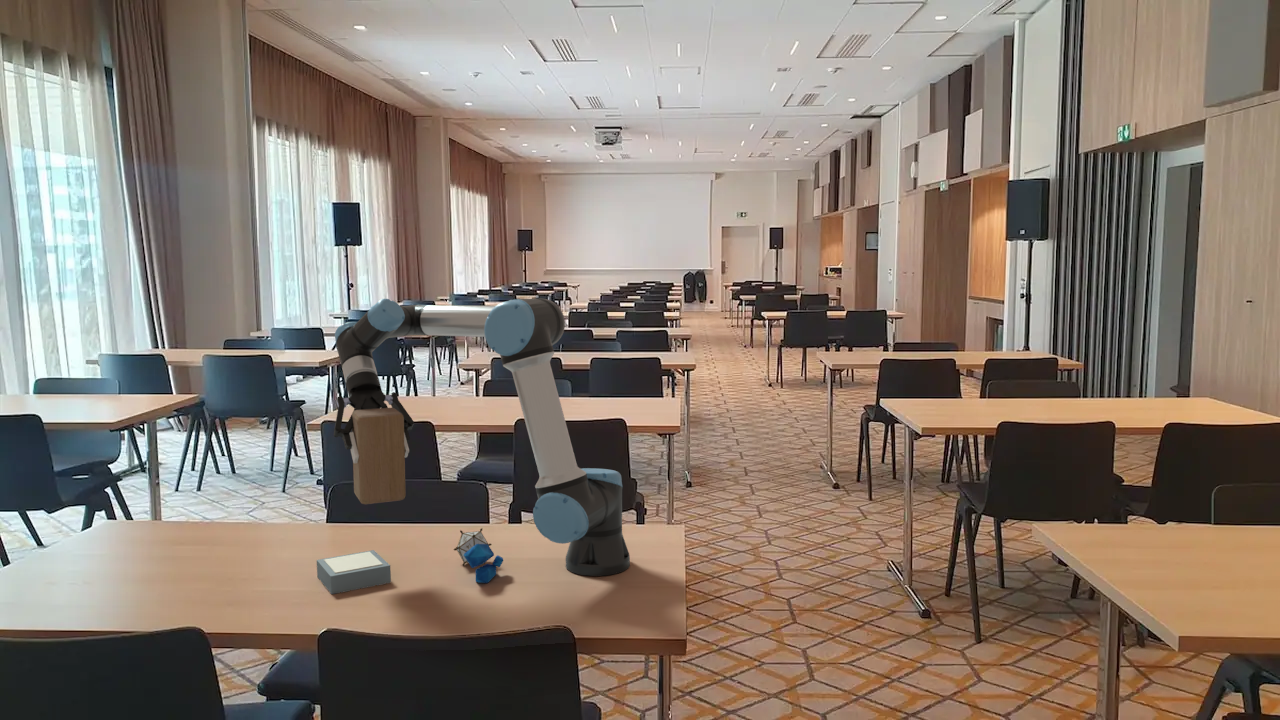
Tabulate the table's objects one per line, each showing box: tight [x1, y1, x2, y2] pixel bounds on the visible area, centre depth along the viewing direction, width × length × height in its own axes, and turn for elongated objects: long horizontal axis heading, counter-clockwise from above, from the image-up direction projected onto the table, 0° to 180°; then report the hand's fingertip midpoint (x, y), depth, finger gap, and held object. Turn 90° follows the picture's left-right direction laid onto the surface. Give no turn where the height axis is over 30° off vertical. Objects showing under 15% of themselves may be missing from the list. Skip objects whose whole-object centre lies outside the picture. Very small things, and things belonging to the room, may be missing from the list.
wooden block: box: [351, 407, 407, 505], centre depth 205 cm, size 10×10×20 cm
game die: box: [453, 527, 492, 567], centre depth 215 cm, size 9×8×10 cm
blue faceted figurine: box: [464, 543, 504, 584], centre depth 203 cm, size 7×9×12 cm
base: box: [316, 549, 392, 595], centre depth 204 cm, size 13×13×4 cm
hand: (381, 457), depth 202 cm, fingers closed on wooden block, 10 cm apart
